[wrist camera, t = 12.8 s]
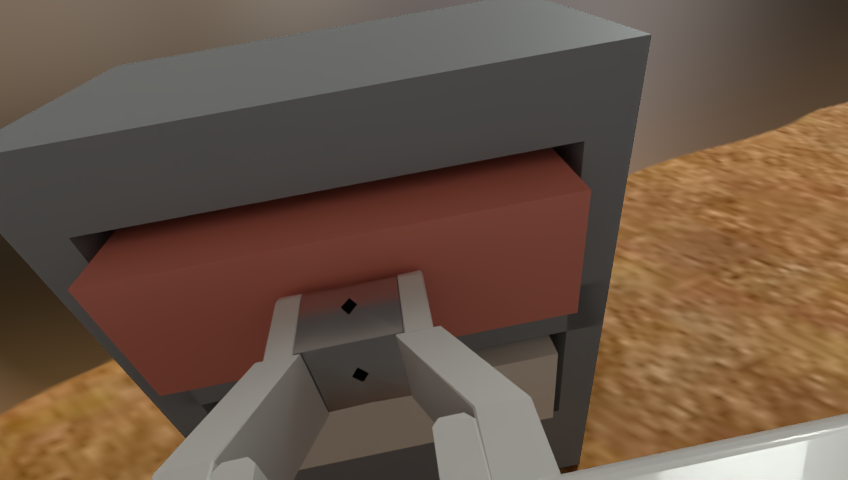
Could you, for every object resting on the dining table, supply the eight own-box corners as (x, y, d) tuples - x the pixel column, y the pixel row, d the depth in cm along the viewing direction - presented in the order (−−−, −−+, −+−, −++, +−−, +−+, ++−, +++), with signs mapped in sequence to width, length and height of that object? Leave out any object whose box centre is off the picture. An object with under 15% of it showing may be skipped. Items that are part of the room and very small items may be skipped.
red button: (577, 312, 10) (591, 189, 8) (159, 396, 10) (67, 290, 8) (523, 221, 13) (523, 118, 11) (207, 282, 13) (150, 187, 11)
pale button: (552, 417, 14) (557, 353, 12) (260, 478, 14) (216, 422, 12) (516, 329, 18) (515, 267, 16) (277, 377, 17) (245, 320, 15)
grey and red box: (579, 464, 18) (651, 34, 8) (268, 529, 17) (-63, 163, 7) (524, 336, 23) (526, -7, 13) (289, 383, 23) (116, 65, 13)
